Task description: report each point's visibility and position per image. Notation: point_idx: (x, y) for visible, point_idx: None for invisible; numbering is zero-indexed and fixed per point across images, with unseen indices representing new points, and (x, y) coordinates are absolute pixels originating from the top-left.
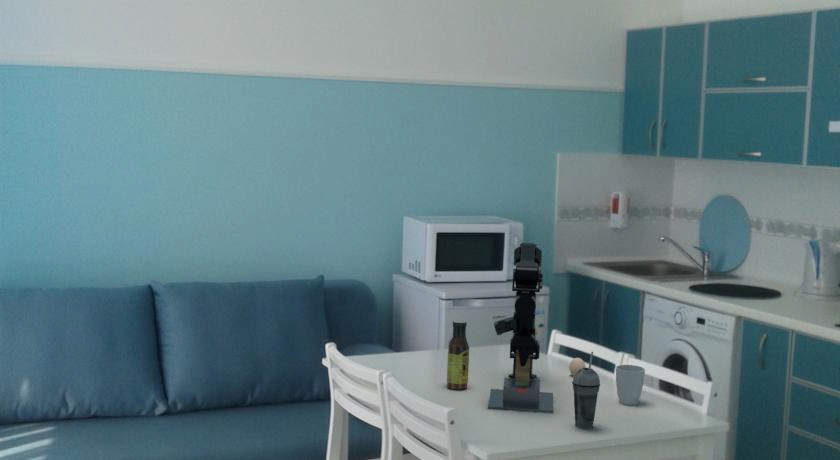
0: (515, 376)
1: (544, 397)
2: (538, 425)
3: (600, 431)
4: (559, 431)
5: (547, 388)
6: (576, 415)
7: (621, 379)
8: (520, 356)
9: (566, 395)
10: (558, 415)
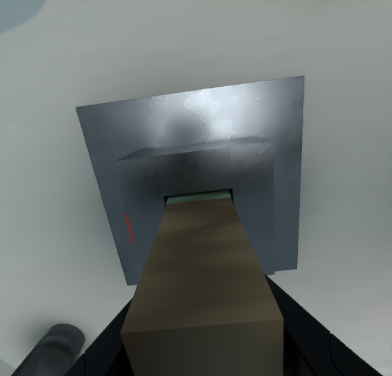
0: (163, 217)
1: None
2: (16, 259)
3: None
4: (2, 301)
5: (366, 244)
6: (29, 354)
7: None
8: (94, 351)
9: (302, 291)
10: (120, 290)
